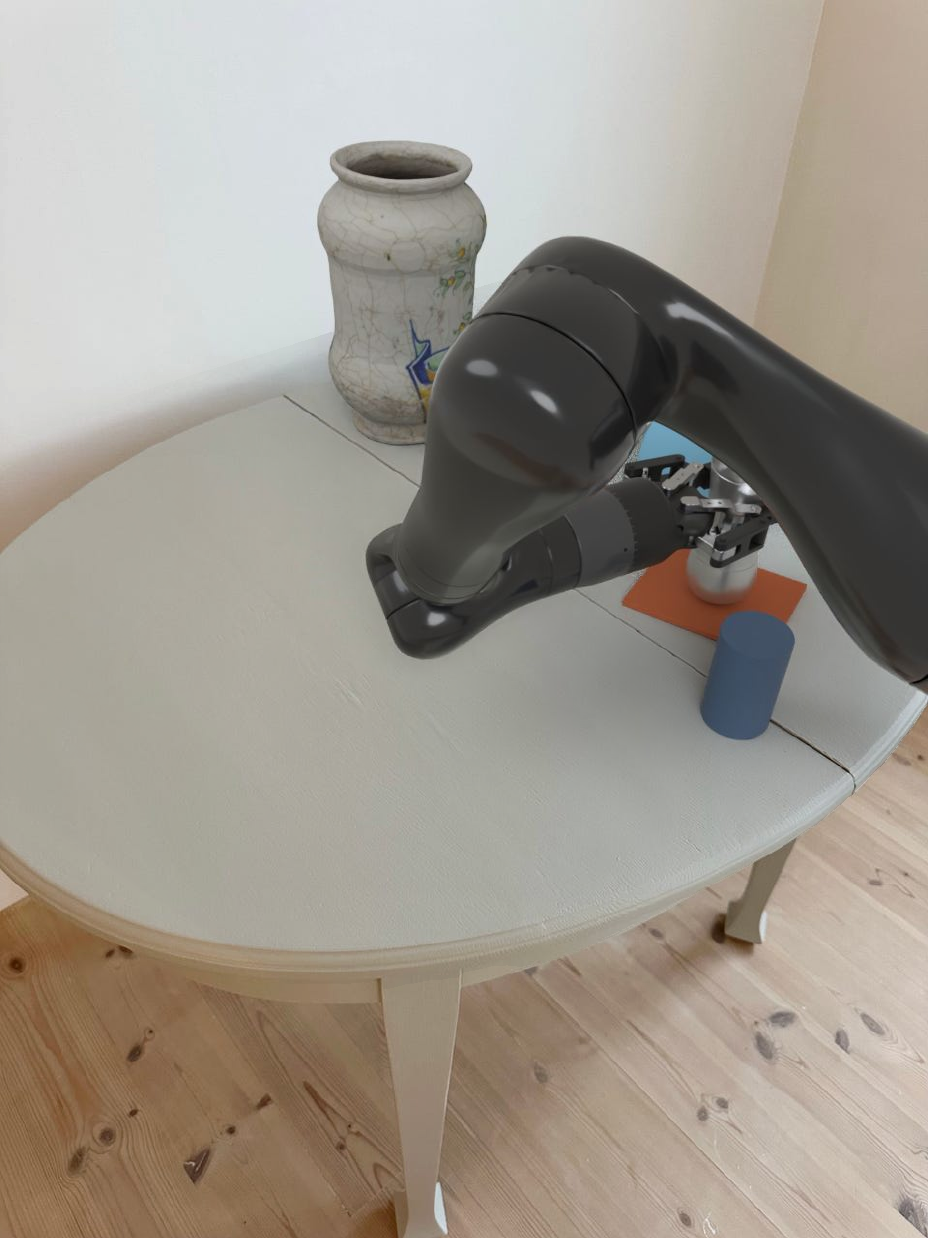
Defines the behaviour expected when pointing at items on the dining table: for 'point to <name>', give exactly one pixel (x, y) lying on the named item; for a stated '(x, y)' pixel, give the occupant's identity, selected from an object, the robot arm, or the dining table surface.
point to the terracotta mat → (678, 605)
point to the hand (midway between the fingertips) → (760, 486)
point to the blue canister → (746, 674)
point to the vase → (398, 276)
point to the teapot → (671, 448)
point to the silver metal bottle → (700, 574)
